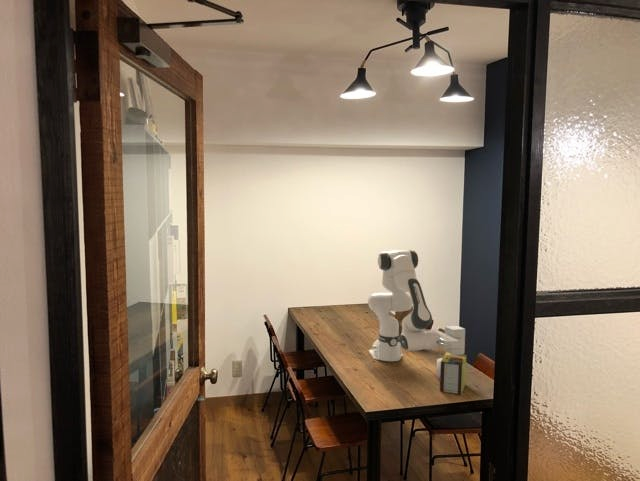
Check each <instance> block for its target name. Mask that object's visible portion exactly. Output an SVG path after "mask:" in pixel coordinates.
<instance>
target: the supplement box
mask: <svg viewBox="0 0 640 481" xmlns="http://www.w3.org/2000/svg"><path fill="white" fill-rule="evenodd" d="M444 333H445V334H447V335H449V336H451V337H453V338H455V339H458V338H461V339H462V342H461V343H459V347H458V348H444V347H443V348H444V349H443V351H444V352H445V353H446V352H448V353H450V354H451V355H457V354H462V355H465V350H466V348H465V347H466V344H465V343H466V328H464V327H462V326H458V325H449V326H448V325H446V326H444Z"/></svg>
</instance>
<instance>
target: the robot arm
mask: <svg viewBox="0 0 640 481" xmlns="http://www.w3.org/2000/svg"><path fill="white" fill-rule="evenodd" d="M418 264H419V256H418V253H417V252H416V251H415V250H412V249H411V250H410V249H409V250H406V249H405V250H404V249H398V250H397V249H396V250H389V251H387V250H386V251H381V252H380V253H379V254H378V257H377V265H378V267H379V269H380V270H381V271H382V281H381V282H382V283H381V284H382V286H383V288H385V290H387V291H388V292H376V293H371V294H370V295H369V297H368V299H367V304H368V308H370V310H371V311H372V312H374V314H376V316H377V318H378V322H379V333H378V335H377V336H378V338H377V339H376V340H375V341H374V342H373V343H372V345H371V349H369V350H368V353H369V354H370V355H371V357H372V358H373V360H377V361H384V362H398V361H400V360H401V359H402V358H404V354H402V348H403V349H404V350H405V351H413V352H414V351H422V350H435V349H438V348H439V346H440V347H442V348H458V347H459V343H461V342H462V339H461V338H458V339H455V338H453V337H451V336H449V335H447V334H445V332H442V331H441V330H437V329H427V328H428V327H430V326H431V325H432V322H433V316H432V313H431V311H430V310H429V308H428V305H427V303H426V299H425V296H424V293H423V290H422V286H421V283H420V282H419V280H418V279H417V274H416V271H415V270H416V268H417V267H418ZM412 306H413V310H412V312H411V313H410V314H408V315H407V316H406V317H405V318H404V319H403V320H402V333H401V335H400V342H399V322H398V320H397V319H395V317H393V316H391V315H390V314H389V313H390V312H394V313H395V312H403V311H408V310H410V308H411V307H412Z"/></svg>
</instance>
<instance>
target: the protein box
mask: <svg viewBox="0 0 640 481" xmlns="http://www.w3.org/2000/svg"><path fill="white" fill-rule="evenodd" d="M442 358H443V359H442V360H441V374H440V379H439V380H440V381H439V392H442V393H447V394H452V395H458V396H459V395H460V396H462V394H463V392H464V389H465V386H466V380H467V376H466V375H467V355H466V354H457V355H451V354H450V353H448V352H446V351H445V354H444V355H443V357H442Z"/></svg>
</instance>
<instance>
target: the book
mask: <svg viewBox="0 0 640 481" xmlns="http://www.w3.org/2000/svg"><path fill="white" fill-rule="evenodd" d="M412 310H413V305H412V307H411V308H410V310H408V311H403V312H394V318H395V319H397V320H398V322H399V342H400V335H401V333H402V320H403V319H404V318H405V317H406V316H407V315H408V314H410V313H411V312H412Z"/></svg>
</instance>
